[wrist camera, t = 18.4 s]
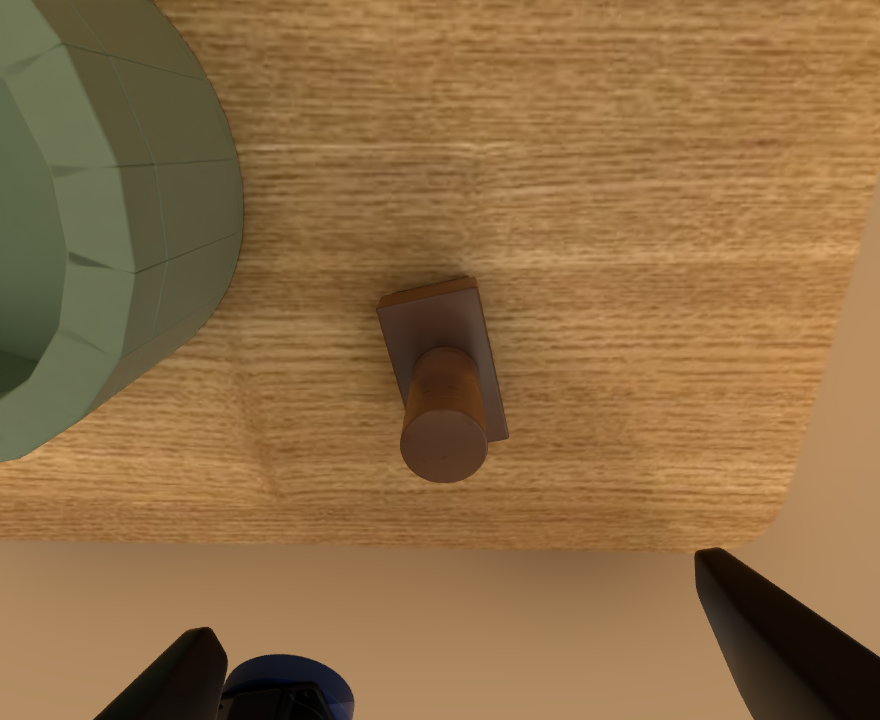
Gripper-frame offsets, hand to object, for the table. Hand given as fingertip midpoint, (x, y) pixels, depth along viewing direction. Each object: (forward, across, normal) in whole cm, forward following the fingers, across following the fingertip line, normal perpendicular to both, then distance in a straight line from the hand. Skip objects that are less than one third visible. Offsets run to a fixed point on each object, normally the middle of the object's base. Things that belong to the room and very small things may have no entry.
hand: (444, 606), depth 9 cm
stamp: (+12, 0, 0) cm, 12 cm away
